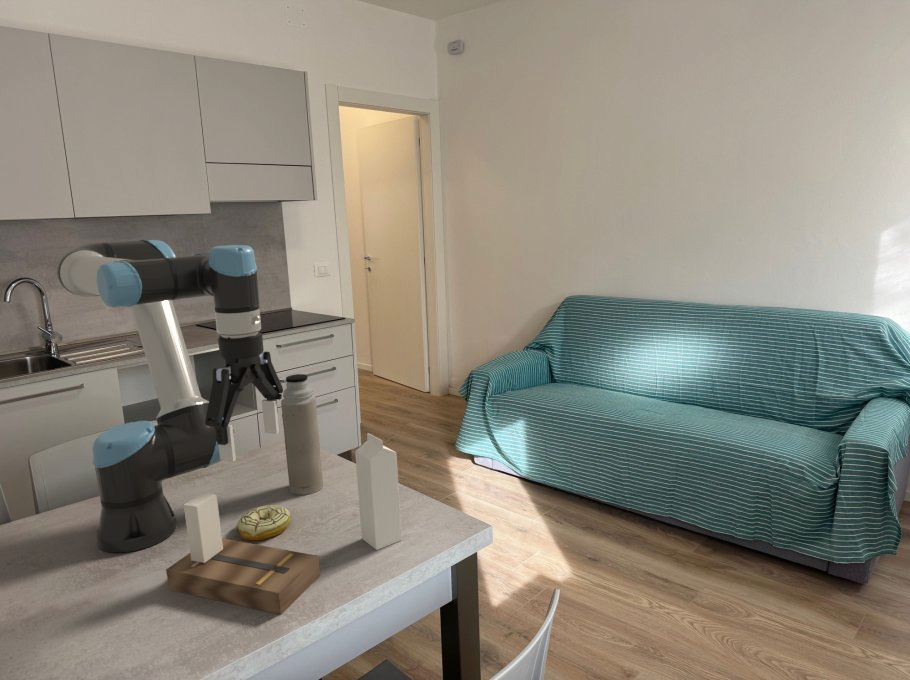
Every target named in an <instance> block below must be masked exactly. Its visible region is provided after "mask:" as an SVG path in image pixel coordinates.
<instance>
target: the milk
mask: <svg viewBox="0 0 910 680" xmlns="http://www.w3.org/2000/svg"><path fill="white" fill-rule="evenodd" d="M366 437H367V438H366V439H367V440H366V441H365V442H363V444H361V445H360V446H359V447H358V448H357V449H356V451H355V466H356V478H357V479H356V482H357V493H358V494H357V495H358V504H359V507H358V508H359V518H360V532H361V540H363V542H364V541H365V543H367V544H368V545H369V546H371V547H372V548H373V549H375V550H376V551H378V550H380V549H383V548H385V547H388V546H390V545H391V546H392V545H393V544H396V543H398V542H401V541H402V540H403V539H402V538H403V537H402V522H401V506H400V503H401V502H400V490H399V474H398V473H399V472H398V458H397V451H395V450H392V449H390V448H389V447H387V446H386V445H384V442H383V440H382V439H380V438H378V437H376V436H374V435H373V434H371V433H369V432H368V433H366Z"/></svg>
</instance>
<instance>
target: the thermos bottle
mask: <svg viewBox="0 0 910 680" xmlns="http://www.w3.org/2000/svg"><path fill="white" fill-rule="evenodd" d="M307 380H308V375H307V374H303V373H297V374H292V375H288V376H286V377H285V381H286V382H285V383H286V385H285V387H286V388H285V389H283V393H282V398H281V399H282V400H281V401H280V405H281V406H280V407H281V415H282V425H283V434H284V435H283V436H284V445H285V455H286V465H287V475H288V484H289V485H288V486H289V492H290V493H292V494H294V495H300V496H303V495H304V496H305V495H310V494H313V493H314V494H315V493H318V492H319V491H320V490H322V489H323V487H324V478H323V477H324V475H323V467H322V459H321V443H320V433H319V432H320V431H319V422H318V420H319V419H318V410H317V408H318V407H317V398H316V397H315V396H314V395H313V394H314V392H313V389H312V387H310V386H309V384H308V381H307Z"/></svg>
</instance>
